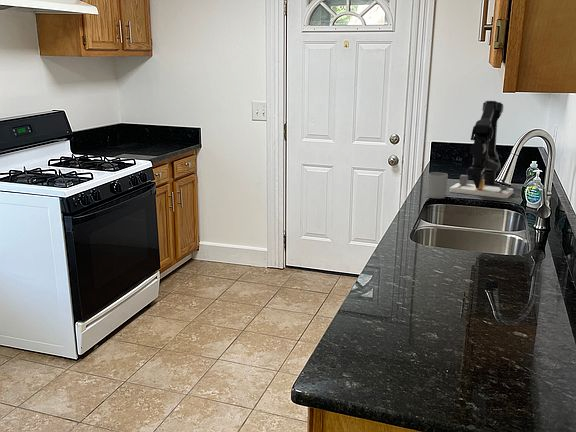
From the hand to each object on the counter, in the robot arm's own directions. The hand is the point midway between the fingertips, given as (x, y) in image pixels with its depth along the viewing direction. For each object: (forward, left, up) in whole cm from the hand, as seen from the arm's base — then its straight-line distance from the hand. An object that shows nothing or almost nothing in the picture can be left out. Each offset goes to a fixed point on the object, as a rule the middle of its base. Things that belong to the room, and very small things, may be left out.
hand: (477, 187), depth 245 cm
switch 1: (-10, -9, -1) cm, 13 cm away
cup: (+12, -15, -4) cm, 19 cm away
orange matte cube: (-4, 0, -1) cm, 4 cm away
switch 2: (-10, +9, -1) cm, 13 cm away
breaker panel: (-7, 0, -3) cm, 8 cm away
